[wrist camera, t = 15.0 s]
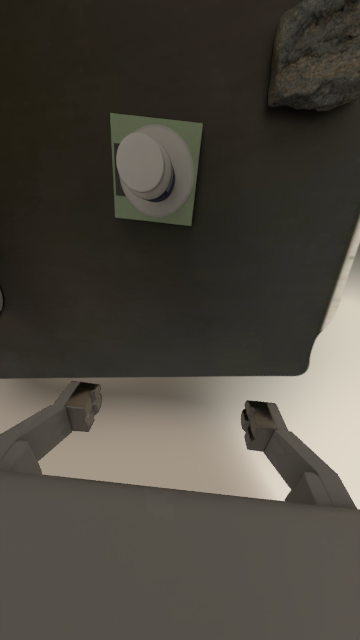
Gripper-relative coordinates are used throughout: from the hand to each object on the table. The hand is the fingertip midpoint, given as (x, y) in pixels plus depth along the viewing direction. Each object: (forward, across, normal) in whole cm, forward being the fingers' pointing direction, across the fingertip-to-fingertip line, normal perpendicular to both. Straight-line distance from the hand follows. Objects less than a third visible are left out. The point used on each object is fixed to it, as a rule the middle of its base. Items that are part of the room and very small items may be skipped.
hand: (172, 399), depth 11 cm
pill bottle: (+26, +6, -13) cm, 30 cm away
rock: (+29, -13, -26) cm, 41 cm away
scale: (+29, +6, -14) cm, 33 cm away
